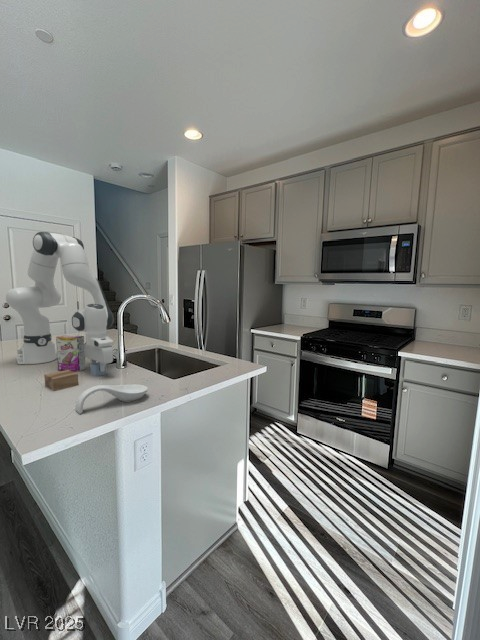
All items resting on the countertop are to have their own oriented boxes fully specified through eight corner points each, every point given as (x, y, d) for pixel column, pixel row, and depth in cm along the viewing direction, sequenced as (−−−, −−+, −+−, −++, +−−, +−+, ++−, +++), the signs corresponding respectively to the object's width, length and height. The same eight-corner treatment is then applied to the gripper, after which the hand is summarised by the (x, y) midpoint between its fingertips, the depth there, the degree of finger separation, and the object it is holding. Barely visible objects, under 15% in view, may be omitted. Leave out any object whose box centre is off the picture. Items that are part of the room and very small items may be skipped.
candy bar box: (57, 370, 139) (55, 336, 137) (64, 367, 144) (62, 334, 142) (79, 371, 138) (77, 337, 136) (86, 368, 143) (84, 335, 141)
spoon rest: (138, 390, 115) (138, 372, 114) (153, 398, 107) (153, 379, 106) (71, 408, 99) (70, 387, 98) (83, 419, 90) (82, 397, 90)
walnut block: (45, 386, 119) (44, 374, 118) (69, 381, 126) (68, 369, 125) (54, 391, 113) (53, 379, 113) (78, 385, 120) (77, 373, 120)
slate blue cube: (90, 374, 135) (90, 363, 134) (101, 371, 139) (100, 361, 138) (95, 376, 132) (95, 365, 131) (106, 373, 136) (106, 363, 135)
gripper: (79, 338, 137) (81, 367, 139) (101, 344, 125) (102, 375, 126) (93, 336, 142) (94, 364, 144) (115, 341, 130) (116, 372, 131)
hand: (98, 369), depth 135 cm, fingers open, 5 cm apart
